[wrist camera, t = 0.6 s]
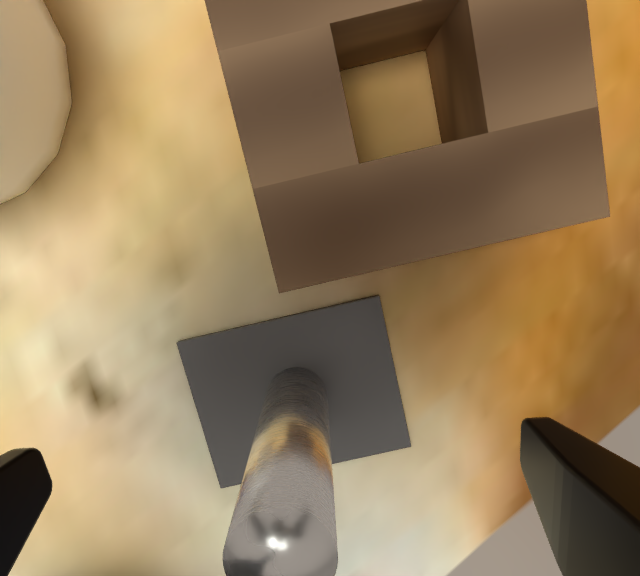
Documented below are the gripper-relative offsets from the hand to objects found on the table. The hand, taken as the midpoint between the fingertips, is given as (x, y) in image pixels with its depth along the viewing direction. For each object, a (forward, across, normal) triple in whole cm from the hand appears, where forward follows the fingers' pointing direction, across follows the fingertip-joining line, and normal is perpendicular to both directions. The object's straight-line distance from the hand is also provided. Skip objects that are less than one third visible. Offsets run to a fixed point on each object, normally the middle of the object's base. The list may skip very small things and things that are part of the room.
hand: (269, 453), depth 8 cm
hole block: (+14, -4, -6) cm, 16 cm away
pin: (+12, +2, +6) cm, 13 cm away
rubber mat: (+12, +2, +6) cm, 14 cm away
